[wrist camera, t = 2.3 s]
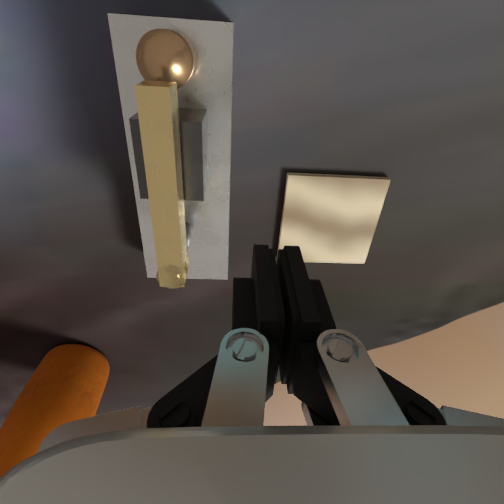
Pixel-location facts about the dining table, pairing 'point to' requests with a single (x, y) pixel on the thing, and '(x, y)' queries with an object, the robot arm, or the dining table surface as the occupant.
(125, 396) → the dining table surface
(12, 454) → the wine bottle
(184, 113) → the dark grey block
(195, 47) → the plane body
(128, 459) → the robot arm
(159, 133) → the latch lever
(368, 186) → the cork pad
